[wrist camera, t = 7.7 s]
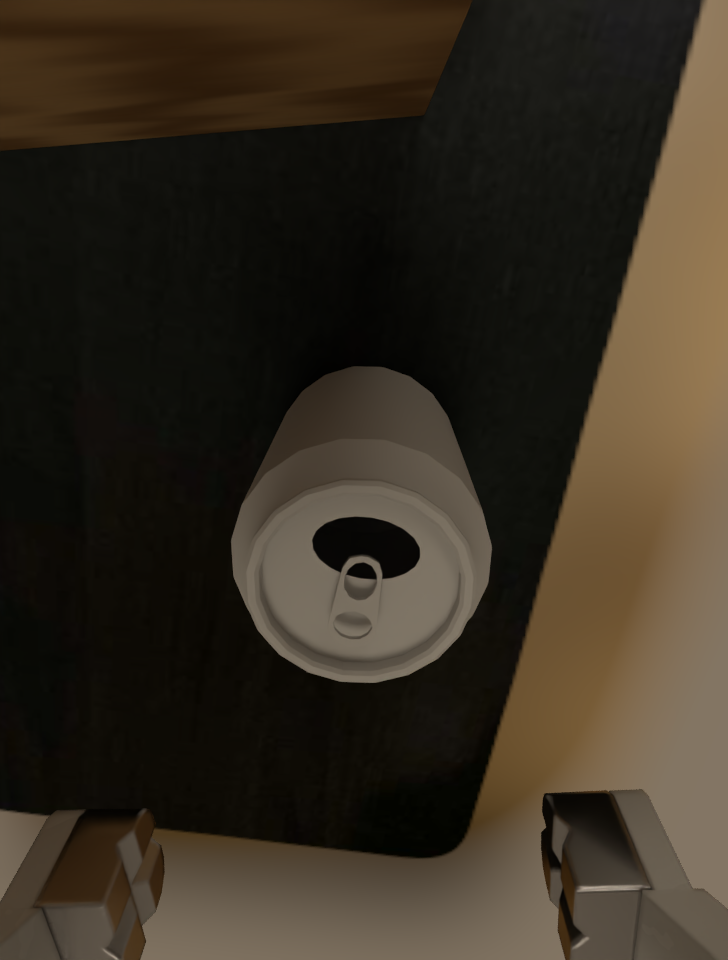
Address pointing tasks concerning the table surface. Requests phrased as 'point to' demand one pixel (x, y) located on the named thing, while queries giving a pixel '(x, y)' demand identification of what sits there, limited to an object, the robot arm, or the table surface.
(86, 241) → the table surface
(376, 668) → the can
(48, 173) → the table surface
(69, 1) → the riser
